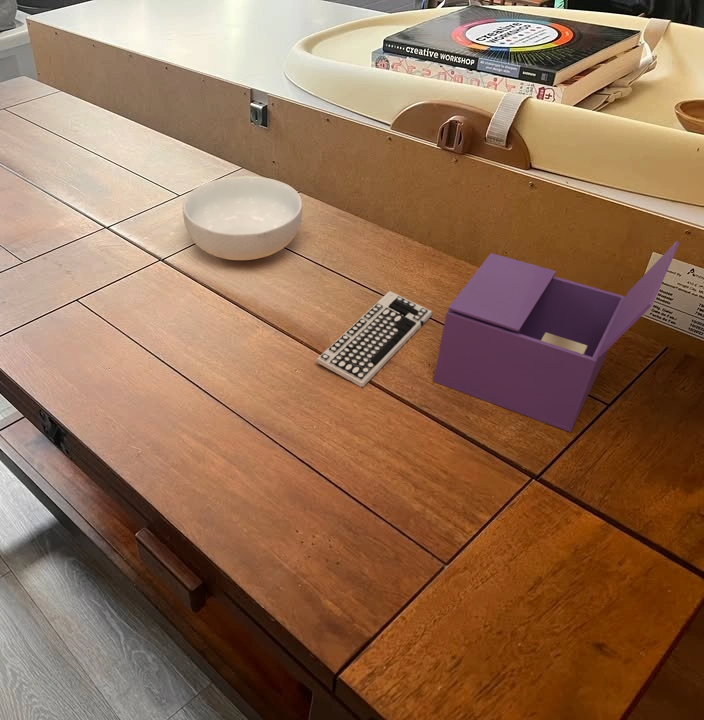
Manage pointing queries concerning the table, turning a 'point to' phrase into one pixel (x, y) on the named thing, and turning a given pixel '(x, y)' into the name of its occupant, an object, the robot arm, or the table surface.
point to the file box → (525, 340)
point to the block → (564, 343)
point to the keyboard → (374, 338)
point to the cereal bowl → (242, 216)
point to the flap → (639, 299)
